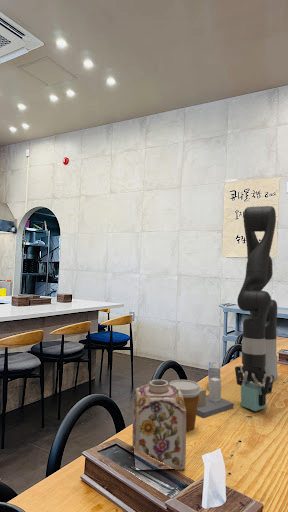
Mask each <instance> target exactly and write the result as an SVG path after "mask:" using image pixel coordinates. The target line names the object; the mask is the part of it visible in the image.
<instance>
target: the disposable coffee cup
mask: <svg viewBox="0 0 288 512" xmlns="http://www.w3.org/2000/svg"><path fill="white" fill-rule="evenodd" d="M168 384H169V385H171V386H174V387H176V388H179V389H180V390H181V391H182V394H183V398H184V399H183V400H184V402H185V407H186V432H190V431H193V430H194V429H196V428H195V426H196V418H197V414H196V413H197V405H198V398H199V394H200V392H201V389H200V388H201V387H200V385H199V383H198V382H196V381H193V380H188V379H176V380H172V381H170V382H168Z"/></svg>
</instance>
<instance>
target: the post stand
mask: <svg viewBox="0 0 288 512" xmlns="http://www.w3.org/2000/svg"><path fill="white" fill-rule="evenodd" d="M221 384H222V380H221V378H220V379H217V378H212V379H210V390H209V393H208V394H207V390H206V389H205V388H203V387H199V388H200V389H201V392H200V394H199V398H198V405H197V413H196V416H199V417H201V418H203V419H204V418H207V417H211V416H212V415H216V414H219V413H222V412H226V411H228V410H231V409H234V407H235V403H234V402H231V401H230V400H227V399H225V398H222V397H221V394H222V392H221V391H222V389H221V388H222V385H221Z"/></svg>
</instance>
